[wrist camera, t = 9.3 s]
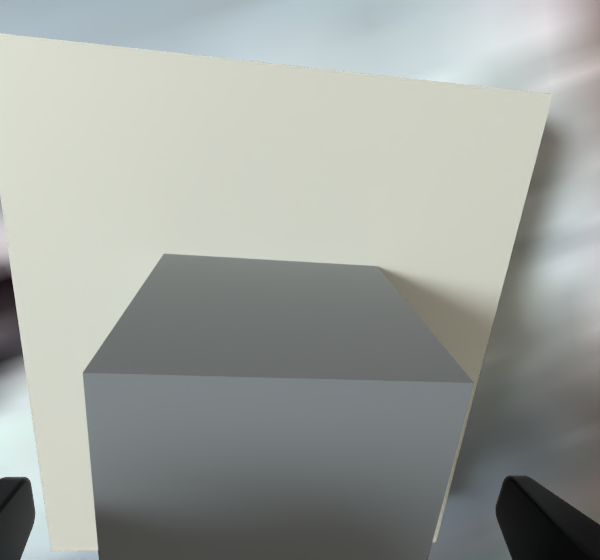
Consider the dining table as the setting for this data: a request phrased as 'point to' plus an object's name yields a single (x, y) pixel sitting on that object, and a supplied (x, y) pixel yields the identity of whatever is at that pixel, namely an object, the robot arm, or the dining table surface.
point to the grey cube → (270, 416)
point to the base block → (238, 203)
